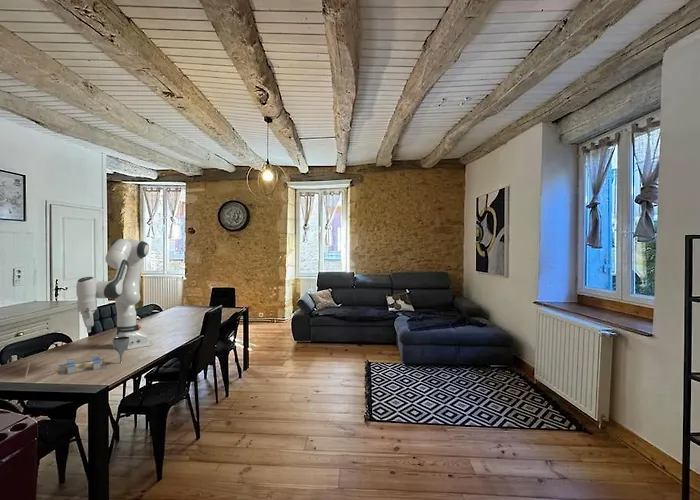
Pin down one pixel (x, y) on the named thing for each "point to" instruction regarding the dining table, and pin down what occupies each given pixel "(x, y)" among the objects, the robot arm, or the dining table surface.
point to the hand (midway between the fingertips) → (88, 332)
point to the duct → (71, 362)
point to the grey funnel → (120, 345)
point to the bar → (83, 366)
